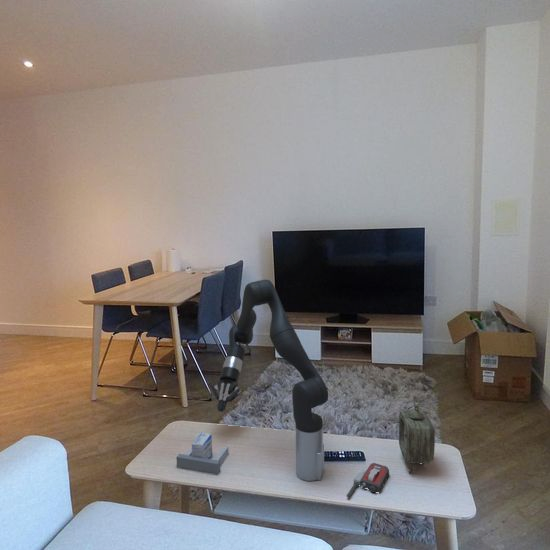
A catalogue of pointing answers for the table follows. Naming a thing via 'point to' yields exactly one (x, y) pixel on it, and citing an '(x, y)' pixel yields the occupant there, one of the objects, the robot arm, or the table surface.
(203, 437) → the medicine box
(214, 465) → the dock
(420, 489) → the table surface
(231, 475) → the table surface
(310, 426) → the robot arm
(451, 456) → the table surface
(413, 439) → the olive fabric tall bag
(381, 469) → the walkie-talkie
